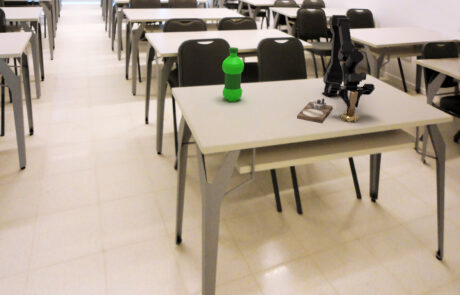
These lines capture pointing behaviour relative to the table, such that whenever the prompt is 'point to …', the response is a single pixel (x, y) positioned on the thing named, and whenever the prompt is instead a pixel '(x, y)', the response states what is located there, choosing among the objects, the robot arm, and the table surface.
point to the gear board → (315, 111)
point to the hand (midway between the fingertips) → (352, 106)
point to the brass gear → (351, 108)
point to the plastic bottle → (232, 75)
